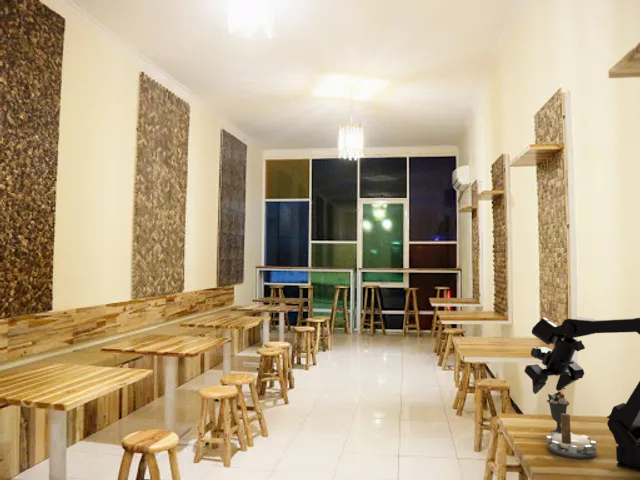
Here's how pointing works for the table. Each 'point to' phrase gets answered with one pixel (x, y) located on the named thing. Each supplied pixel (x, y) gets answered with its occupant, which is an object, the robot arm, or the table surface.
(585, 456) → the dial plate
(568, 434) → the dial
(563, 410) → the sundae
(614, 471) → the table surface
